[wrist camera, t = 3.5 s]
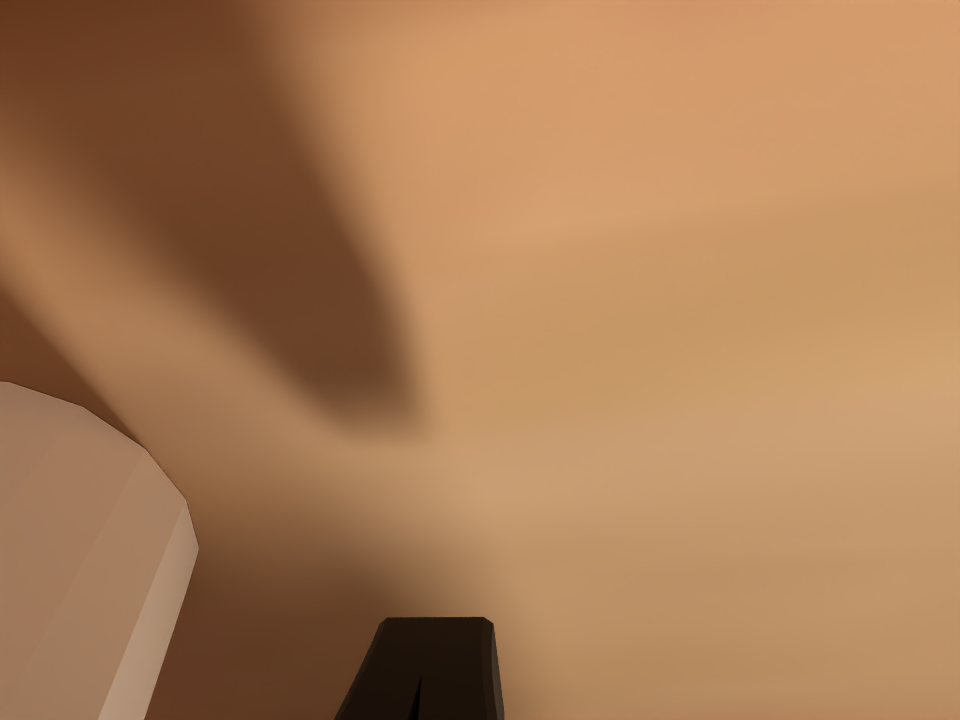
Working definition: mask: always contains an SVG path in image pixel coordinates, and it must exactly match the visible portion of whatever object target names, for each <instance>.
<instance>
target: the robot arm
mask: <svg viewBox="0 0 960 720" xmlns="http://www.w3.org/2000/svg"><path fill="white" fill-rule="evenodd" d="M334 720H504V706H503V698H502V690H501V682H500V674H499V665H498V657H497V649H496V641H495V633H494V625H493V623H492V622H490V621H489V620H487V619H486V618H484V617H407V618H386V619H385V620H384V621H383V622H382V623H380V625H379V627H378V629H377V632H376V634H375V636H374V639H373V641H372V643H371V646H370V648H369V650H368V652H367V654H366V656H365V659H364V661H363V663H362V665H361V667H360V669H359V671H358V673H357V675H356V677H355V680H354V682H353V684H352V686H351V688H350V690H349V692H348V693H347V695H346V697H345V699H344V701H343V703H342V705H341V707H340V709H339V711H338V713H337V715H336V717H335V718H334Z"/></svg>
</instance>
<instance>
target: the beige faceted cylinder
mask: <svg viewBox="0 0 960 720" xmlns="http://www.w3.org/2000/svg"><path fill="white" fill-rule="evenodd" d="M198 551H199V546H198V543H197V539H196V535H195V532H194V528H193V524H192V521H191V517H190V513H189V510H188V506H187V502H186V499H185V498H184V497H183V495H182V494H181V493H180V492H179V490H178V489H177V488H176V487H175V485H174V484H173V483H172V482H171V480H170V479H169V478H168V477H167V475H166V474H165V473H164V472H163V470H162V469H161V468H160V467H159V465H158V464H157V463H156V462H155V460H154V459H153V458H152V457H151V455H150V454H149V453H148V452H147V450H146V449H145V448H143V447H142V446H140V445H139V444H137V443H136V442H134V441H133V440H131V439H130V438H128V437H127V436H125V435H124V434H123V433H121V432H120V431H118V430H117V429H115V428H114V427H112V426H111V425H109V424H108V423H106V422H105V421H103V420H102V419H100V418H99V417H97V416H96V415H94V414H93V413H91V412H90V411H88V410H87V409H85V408H84V407H82V406H79V405H76V404H73V403H70V402H67V401H64V400H61V399H58V398H55V397H52V396H49V395H46V394H43V393H40V392H37V391H34V390H31V389H28V388H25V387H22V386H19V385H16V384H13V383H10V382H0V720H144V718H145V715H146V712H147V709H148V706H149V703H150V700H151V697H152V694H153V691H154V688H155V685H156V682H157V679H158V676H159V673H160V670H161V667H162V664H163V661H164V658H165V655H166V652H167V649H168V646H169V643H170V640H171V637H172V634H173V631H174V628H175V625H176V622H177V618H178V615H179V612H180V609H181V606H182V603H183V600H184V597H185V594H186V591H187V588H188V585H189V581H190V578H191V575H192V571H193V568H194V565H195V561H196V558H197V555H198Z"/></svg>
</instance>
